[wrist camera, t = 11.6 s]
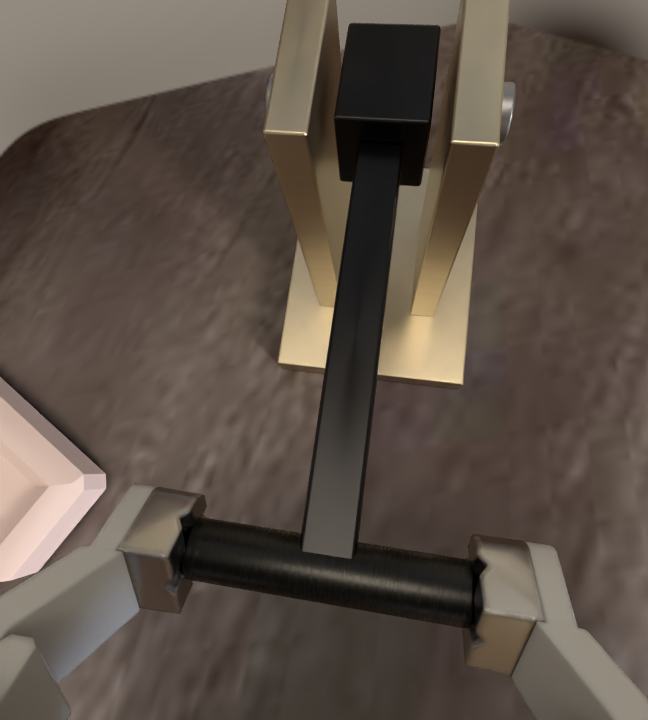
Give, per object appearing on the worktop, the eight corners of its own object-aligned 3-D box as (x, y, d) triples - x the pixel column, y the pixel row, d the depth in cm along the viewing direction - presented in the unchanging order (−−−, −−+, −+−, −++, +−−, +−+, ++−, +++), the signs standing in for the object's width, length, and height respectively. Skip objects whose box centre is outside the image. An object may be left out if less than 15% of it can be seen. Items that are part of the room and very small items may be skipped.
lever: (455, 613, 10) (480, 646, 8) (206, 570, 11) (164, 589, 9) (489, 104, 14) (514, 25, 11) (295, 95, 14) (281, 18, 12)
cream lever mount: (458, 389, 22) (573, 281, 9) (281, 368, 23) (169, 246, 10) (475, 185, 24) (587, -128, 11) (312, 175, 25) (249, -124, 12)
